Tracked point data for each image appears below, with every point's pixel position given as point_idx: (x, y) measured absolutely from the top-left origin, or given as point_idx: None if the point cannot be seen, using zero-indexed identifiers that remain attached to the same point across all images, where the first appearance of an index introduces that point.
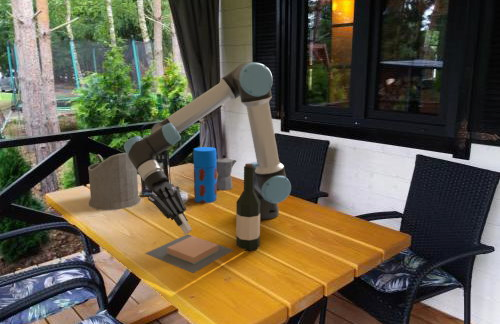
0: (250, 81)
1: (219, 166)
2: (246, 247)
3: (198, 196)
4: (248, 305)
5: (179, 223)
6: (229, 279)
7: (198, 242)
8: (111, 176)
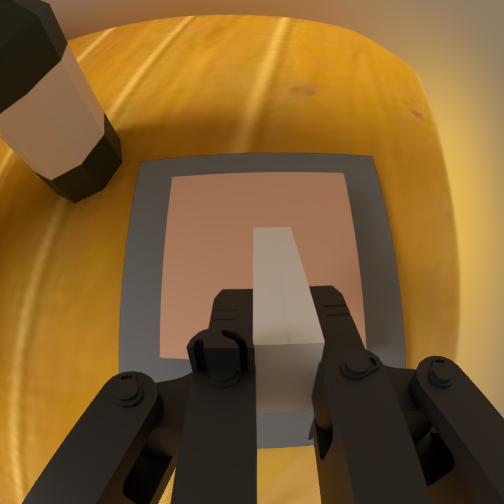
0: None
1: None
2: (115, 137)
3: None
4: (341, 42)
5: (339, 294)
6: (302, 87)
7: (206, 266)
8: None
